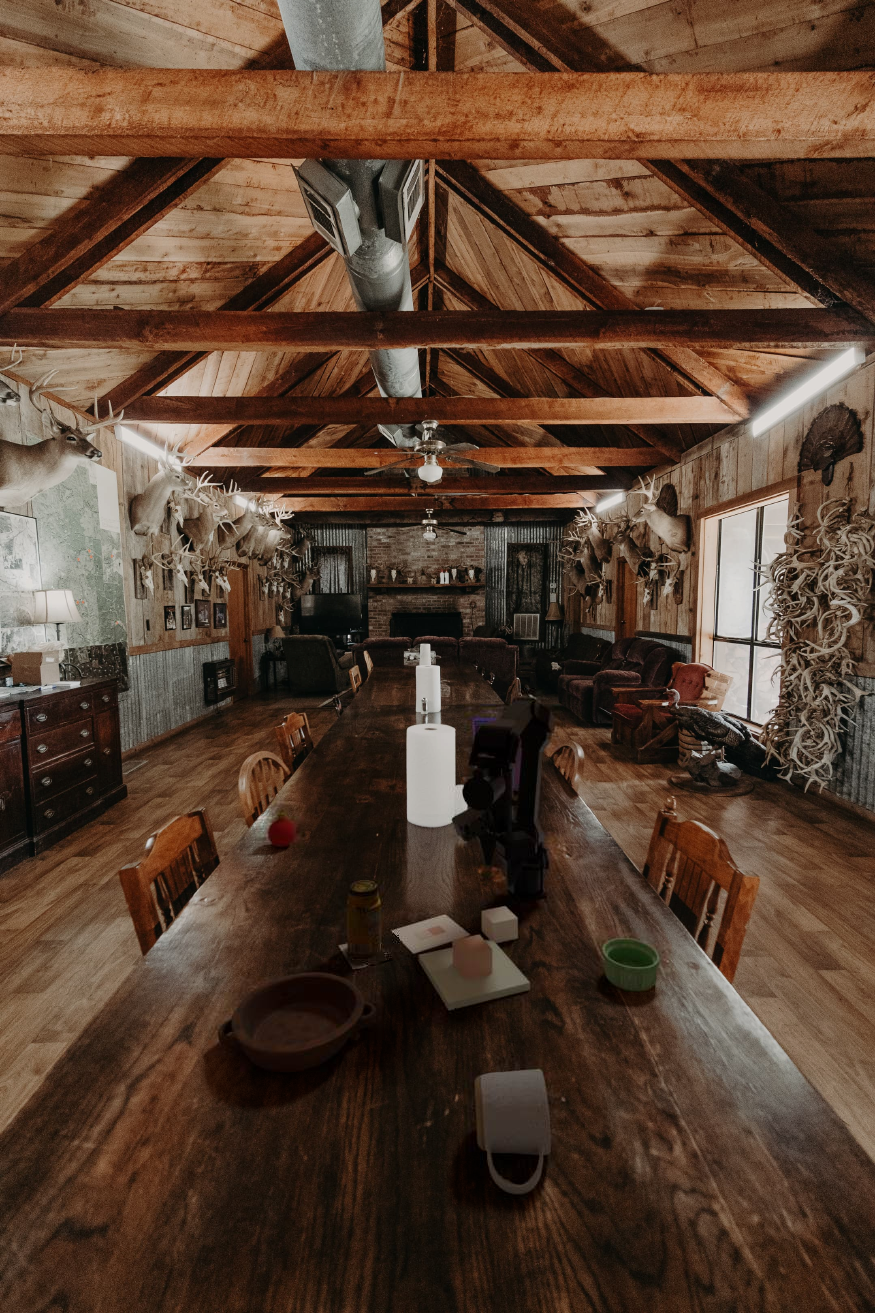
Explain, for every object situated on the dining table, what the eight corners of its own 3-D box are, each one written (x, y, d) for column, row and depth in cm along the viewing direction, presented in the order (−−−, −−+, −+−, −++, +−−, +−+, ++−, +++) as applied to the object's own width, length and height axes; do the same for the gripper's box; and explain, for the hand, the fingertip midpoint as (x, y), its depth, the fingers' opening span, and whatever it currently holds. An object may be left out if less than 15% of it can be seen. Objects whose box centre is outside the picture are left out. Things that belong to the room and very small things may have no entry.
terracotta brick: (479, 957, 105) (479, 934, 104) (492, 973, 100) (492, 949, 100) (452, 963, 103) (452, 940, 103) (464, 979, 98) (464, 956, 98)
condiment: (376, 937, 114) (375, 874, 113) (393, 960, 106) (392, 893, 105) (338, 947, 111) (337, 882, 110) (353, 971, 103) (351, 902, 102)
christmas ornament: (292, 851, 155) (291, 813, 155) (264, 851, 155) (263, 813, 155) (299, 841, 162) (298, 804, 162) (272, 841, 163) (271, 804, 162)
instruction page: (445, 915, 122) (445, 914, 122) (470, 935, 114) (470, 934, 114) (390, 931, 116) (390, 930, 116) (413, 954, 108) (413, 953, 108)
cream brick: (505, 926, 118) (505, 906, 117) (517, 939, 113) (517, 918, 113) (481, 931, 116) (481, 911, 116) (493, 944, 111) (493, 923, 111)
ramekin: (630, 1001, 95) (630, 974, 94) (590, 971, 103) (590, 946, 102) (671, 984, 99) (671, 958, 98) (629, 957, 107) (630, 932, 106)
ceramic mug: (473, 1114, 73) (473, 1054, 73) (541, 1114, 73) (541, 1054, 73) (479, 1200, 63) (478, 1131, 62) (558, 1200, 63) (559, 1131, 62)
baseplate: (491, 945, 111) (491, 939, 111) (530, 989, 98) (530, 982, 97) (418, 961, 106) (418, 955, 106) (448, 1010, 93) (448, 1003, 93)
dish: (384, 1071, 81) (384, 1035, 80) (208, 1102, 76) (207, 1064, 76) (370, 992, 98) (369, 962, 97) (225, 1013, 93) (224, 981, 93)
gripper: (438, 784, 118) (440, 862, 119) (478, 815, 100) (479, 906, 102) (490, 777, 121) (491, 853, 123) (538, 806, 104) (538, 894, 106)
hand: (498, 875), depth 113 cm, fingers open, 9 cm apart
